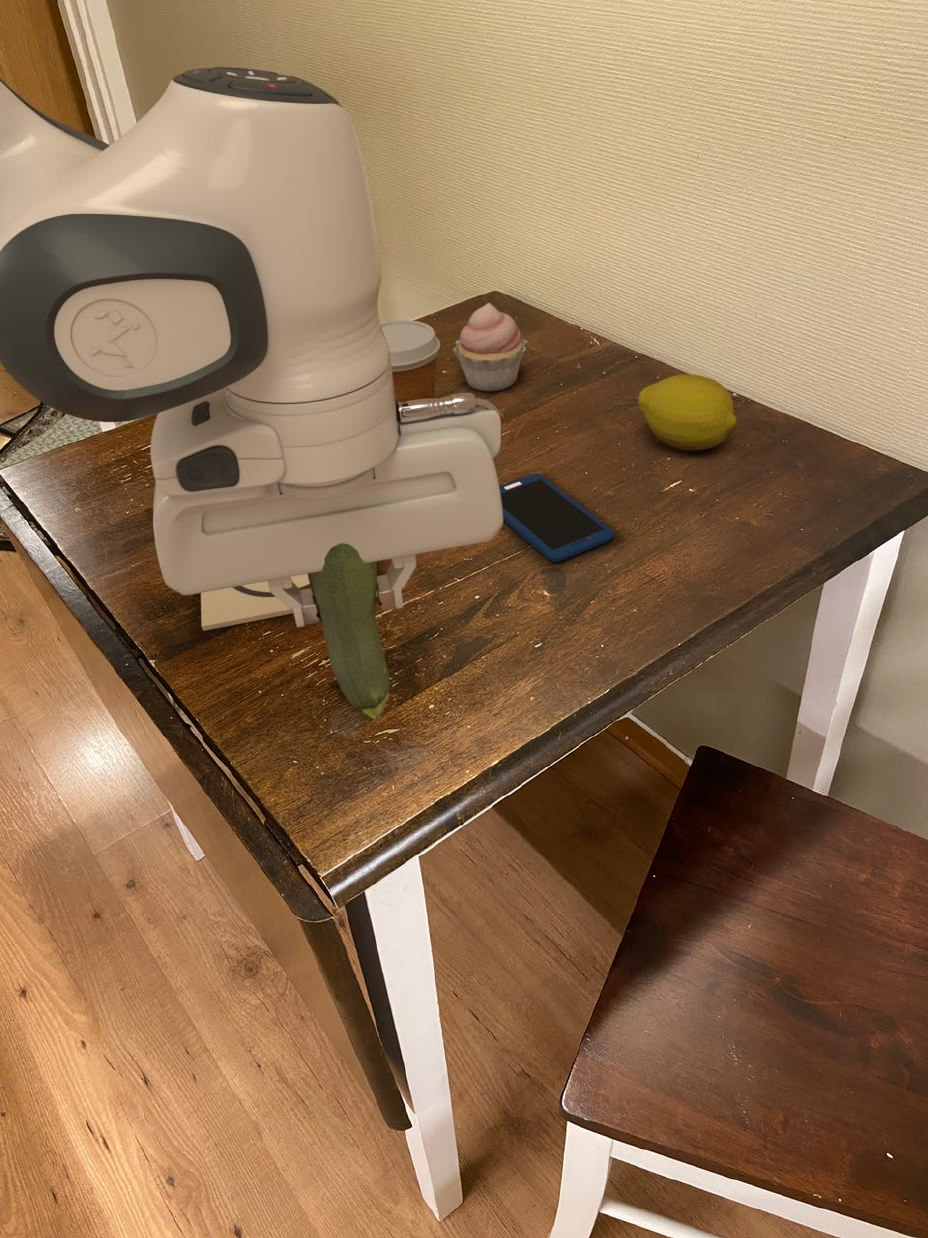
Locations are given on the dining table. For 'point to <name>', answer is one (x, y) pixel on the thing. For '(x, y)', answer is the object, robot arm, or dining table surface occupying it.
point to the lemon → (688, 411)
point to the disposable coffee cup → (412, 358)
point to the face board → (244, 604)
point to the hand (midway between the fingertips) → (348, 612)
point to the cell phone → (550, 518)
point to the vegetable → (352, 627)
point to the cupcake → (490, 350)
